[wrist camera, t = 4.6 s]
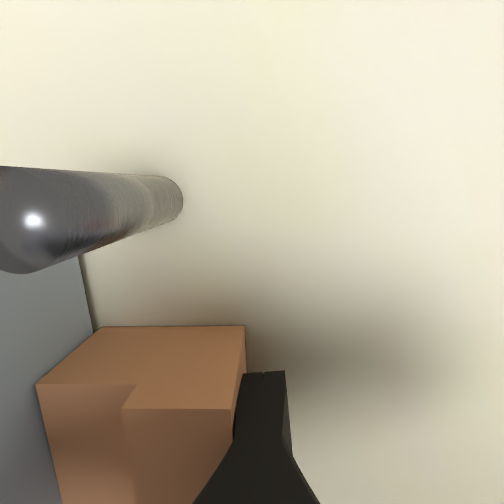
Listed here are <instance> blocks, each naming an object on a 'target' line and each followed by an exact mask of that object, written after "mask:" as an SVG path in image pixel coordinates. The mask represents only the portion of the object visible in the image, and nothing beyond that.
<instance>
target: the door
mask: <svg viewBox="0 0 504 504" xmlns="http://www.w3.org/2000/svg"><path fill="white" fill-rule="evenodd" d="M92 335H93V329H92V324H91V319H90V314H89V309H88V305H87V300H86V295H85V290H84V285H83V280H82V275H81V270H80V265H79V260H78V256H76V257H74V258H71V259H68V260H66V261H63V262H60V263H58V264H55V265H53V266H50V267H47V268H45V269H42V270H39V271H36V272H33V273H28V274H13V273H8V272H5V271H2V270H0V504H63V503H62V499H61V495H60V490H59V486H58V482H57V477H56V473H55V469H54V464H53V460H52V456H51V451H50V447H49V443H48V438H47V434H46V429H45V425H44V421H43V416H42V412H41V408H40V403H39V399H38V395H37V390H36V386H35V384H36V383H37V382H38V381H39V380H40V379H42V378H43V377H44V376H45V375H46V374H47V373H49V372H50V371H51V370H52V369H53V368H54V367H55V366H57V365H58V364H59V363H60V362H61V361H62V360H64V359H65V358H66V357H67V356H68V355H69V354H71V353H72V352H73V351H74V350H75V349H76V348H78V347H79V346H80V345H81V344H82V343H83V342H85V341H86V340H87V339H88V338H89V337H90V336H92Z"/></svg>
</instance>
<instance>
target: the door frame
mask: <svg viewBox="0 0 504 504" xmlns="http://www.w3.org/2000/svg"><path fill="white" fill-rule="evenodd" d="M182 205H183V197H182V193H181V191H180V189H179V187H178V186H177V185H176V184H175V183H174V182H173V181H172V180H170V179H168V178H165V177H157V176H142V175H127V174H113V173H98V172H84V171H69V170H54V169H40V168H25V167H10V166H0V270H2V271H5V272H8V273H13V274H28V273H33V272H36V271H39V270H42V269H45V268H47V267H50V266H53V265H55V264H58V263H60V262H63V261H66V260H68V259H71V258H74V257H76V256H79V255H82V254H84V253H87V252H89V251H92V250H95V249H97V248H100V247H103V246H105V245H108V244H111V243H113V242H116V241H118V240H121V239H124V238H126V237H129V236H132V235H134V234H137V233H140V232H142V231H145V230H147V229H150V228H153V227H155V226H158V225H161V224H163V223H166V222H169V221H171V220H173V219H174V218H176V217H177V216H178V214H179V213H180V211H181V209H182Z"/></svg>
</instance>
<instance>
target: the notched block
mask: <svg viewBox="0 0 504 504" xmlns="http://www.w3.org/2000/svg"><path fill="white" fill-rule="evenodd" d="M243 373H247V368H246V347H245V326H164V327H101V328H100V329H99V330H97V331H96V332H95V333H94V334H93V335H92V336H90V337H89V338H88V339H87V340H86V341H85V342H83V343H82V344H81V345H80V346H79V347H78V348H76V349H75V350H74V351H73V352H72V353H71V354H69V355H68V356H67V357H66V358H65V359H64V360H62V361H61V362H60V363H59V364H58V365H57V366H55V367H54V368H53V369H52V370H51V371H50V372H49V373H47V374H46V375H45V376H44V377H43V378H42V379H40V380H39V381H38V382H37V383H36V384H35V386H36V390H37V395H38V399H39V403H40V408H41V412H42V416H43V421H44V425H45V429H46V434H47V438H48V443H49V447H50V451H51V456H52V460H53V464H54V469H55V473H56V477H57V482H58V486H59V490H60V495H61V499H62V503H63V504H192V503H193V501H194V500H195V499H196V497H197V496H198V495H199V493H200V492H201V491H202V489H203V488H204V486H205V485H206V484H207V482H208V481H209V479H210V478H211V476H212V475H213V473H214V472H215V470H216V469H217V467H218V465H219V464H220V462H221V461H222V459H223V457H224V456H225V454H226V453H227V451H228V449H229V447H230V446H231V444H232V442H233V440H234V438H235V421H236V403H237V397H238V392H239V387H240V382H241V378H242V375H243Z"/></svg>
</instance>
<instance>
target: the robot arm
mask: <svg viewBox="0 0 504 504" xmlns="http://www.w3.org/2000/svg"><path fill="white" fill-rule="evenodd" d="M192 504H320V503H319V501H318V499H317V498H316V496H315V494H314V493H313V491H312V489H311V488H310V486H309V485H308V483H307V481H306V479H305V477H304V476H303V474H302V472H301V470H300V469H299V467H298V465H297V463H296V461H295V459H294V457H293V454H292V443H291V432H290V421H289V411H288V400H287V389H286V379H285V371H274V372H265V373H264V374H263V373H261V372H258V373H243V375H242V378H241V382H240V387H239V392H238V397H237V403H236V421H235V438H234V440H233V442H232V444H231V446H230V447H229V449H228V451H227V453H226V454H225V456H224V457H223V459H222V461H221V462H220V464H219V465H218V467H217V469H216V470H215V472H214V473H213V475H212V476H211V478H210V479H209V481H208V482H207V484H206V485H205V486H204V488H203V489H202V491H201V492H200V493H199V495H198V496H197V497H196V499H195V500H194V501H193V503H192Z"/></svg>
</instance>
